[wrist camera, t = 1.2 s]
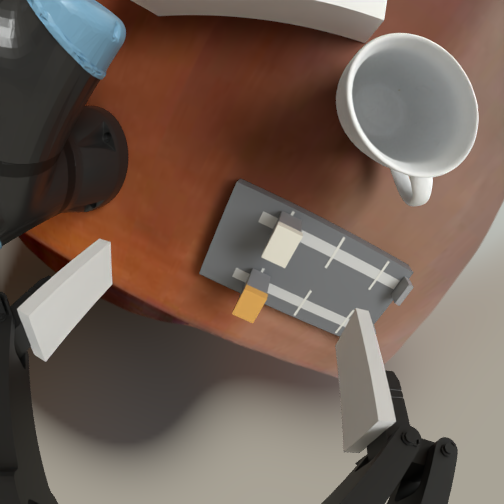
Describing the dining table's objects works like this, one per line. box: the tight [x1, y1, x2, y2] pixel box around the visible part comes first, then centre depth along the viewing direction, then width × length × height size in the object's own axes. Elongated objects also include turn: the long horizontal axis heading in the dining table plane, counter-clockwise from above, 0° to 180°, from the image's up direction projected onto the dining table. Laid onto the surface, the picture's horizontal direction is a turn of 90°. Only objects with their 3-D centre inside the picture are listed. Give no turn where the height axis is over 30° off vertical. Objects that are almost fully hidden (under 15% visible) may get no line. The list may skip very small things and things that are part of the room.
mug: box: [336, 33, 478, 206], centre depth 22 cm, size 15×11×13 cm
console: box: [199, 178, 413, 336], centre depth 34 cm, size 24×13×4 cm, turn 66°
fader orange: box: [232, 268, 271, 323], centre depth 33 cm, size 3×4×5 cm
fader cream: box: [261, 211, 303, 268], centre depth 30 cm, size 3×4×5 cm
